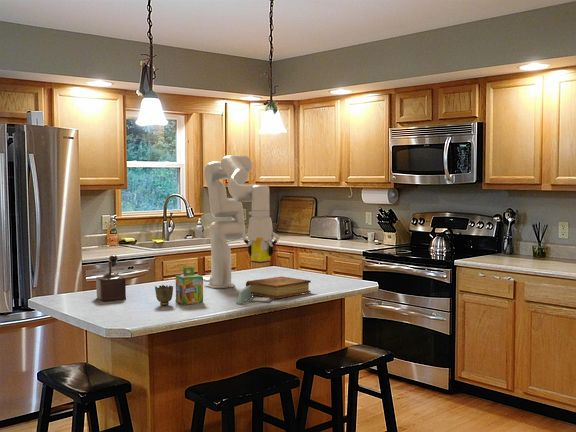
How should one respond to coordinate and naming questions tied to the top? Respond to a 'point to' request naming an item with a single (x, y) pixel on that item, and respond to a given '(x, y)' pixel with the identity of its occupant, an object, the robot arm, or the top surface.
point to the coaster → (260, 299)
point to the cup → (164, 294)
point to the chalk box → (189, 287)
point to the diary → (278, 287)
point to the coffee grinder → (111, 284)
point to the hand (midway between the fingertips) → (260, 255)
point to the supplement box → (260, 251)
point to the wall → (244, 295)
